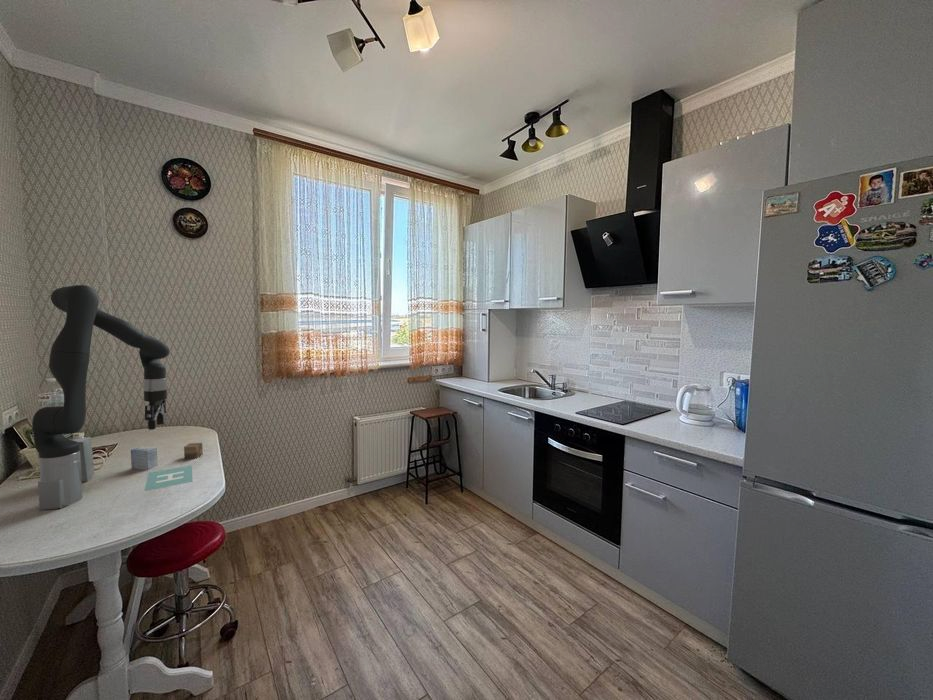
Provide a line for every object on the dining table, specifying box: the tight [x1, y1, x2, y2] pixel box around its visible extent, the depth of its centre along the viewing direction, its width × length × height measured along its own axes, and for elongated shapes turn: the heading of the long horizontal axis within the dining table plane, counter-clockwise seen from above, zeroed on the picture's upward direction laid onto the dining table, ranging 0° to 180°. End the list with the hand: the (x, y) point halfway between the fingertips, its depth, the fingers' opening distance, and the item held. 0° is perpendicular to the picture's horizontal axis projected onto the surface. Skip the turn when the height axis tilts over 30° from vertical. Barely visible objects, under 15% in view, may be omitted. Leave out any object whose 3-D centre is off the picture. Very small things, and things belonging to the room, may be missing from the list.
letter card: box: [144, 464, 193, 492], centre depth 144 cm, size 20×14×1 cm
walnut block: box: [183, 442, 204, 460], centre depth 166 cm, size 5×5×6 cm
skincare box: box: [70, 436, 95, 483], centre depth 141 cm, size 8×7×16 cm
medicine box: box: [130, 446, 159, 471], centre depth 153 cm, size 8×4×9 cm, turn 84°
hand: (156, 426), depth 154 cm, fingers open, 8 cm apart
